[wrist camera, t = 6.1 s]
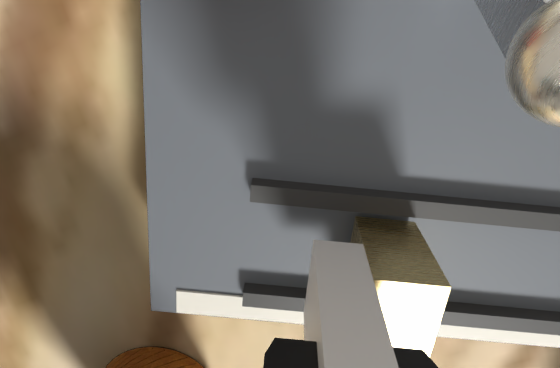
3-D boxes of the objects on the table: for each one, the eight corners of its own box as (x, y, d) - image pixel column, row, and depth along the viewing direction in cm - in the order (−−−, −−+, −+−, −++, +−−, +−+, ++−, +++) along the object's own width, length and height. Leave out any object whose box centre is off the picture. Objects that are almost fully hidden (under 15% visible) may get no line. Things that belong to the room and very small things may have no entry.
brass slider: (341, 289, 15) (354, 366, 12) (355, 216, 14) (374, 279, 11) (396, 294, 15) (424, 372, 12) (415, 221, 14) (451, 287, 11)
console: (176, 253, 20) (146, 321, 16) (175, -171, 14) (123, -249, 9) (596, 292, 20) (677, 369, 16) (787, -105, 14) (1004, -153, 10)
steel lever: (432, -20, 11) (501, 149, 7) (465, -118, 10) (583, 23, 5) (513, -11, 11) (633, 162, 7) (561, -108, 10) (755, 40, 5)
